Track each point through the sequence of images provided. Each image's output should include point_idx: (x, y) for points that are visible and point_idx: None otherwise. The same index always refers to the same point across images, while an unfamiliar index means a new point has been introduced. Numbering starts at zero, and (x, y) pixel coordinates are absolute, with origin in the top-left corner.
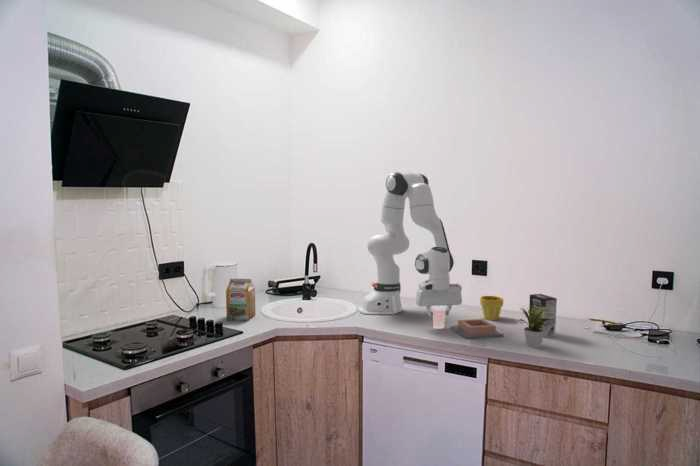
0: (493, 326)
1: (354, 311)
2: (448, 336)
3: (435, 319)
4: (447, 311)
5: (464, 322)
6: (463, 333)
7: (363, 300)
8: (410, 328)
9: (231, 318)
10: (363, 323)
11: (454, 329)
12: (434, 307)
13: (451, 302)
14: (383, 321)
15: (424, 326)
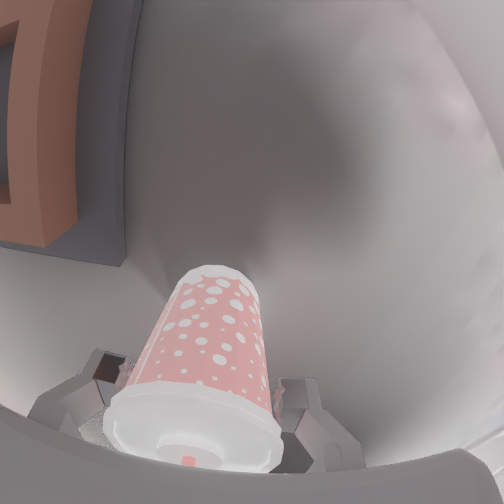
0: None
1: None
2: (266, 36)
3: (258, 335)
4: (99, 379)
5: (17, 150)
6: (119, 21)
7: None
8: (418, 324)
9: None
10: (494, 401)
11: (120, 191)
12: (245, 462)
13: (11, 442)
14: (428, 424)
15: (309, 343)
